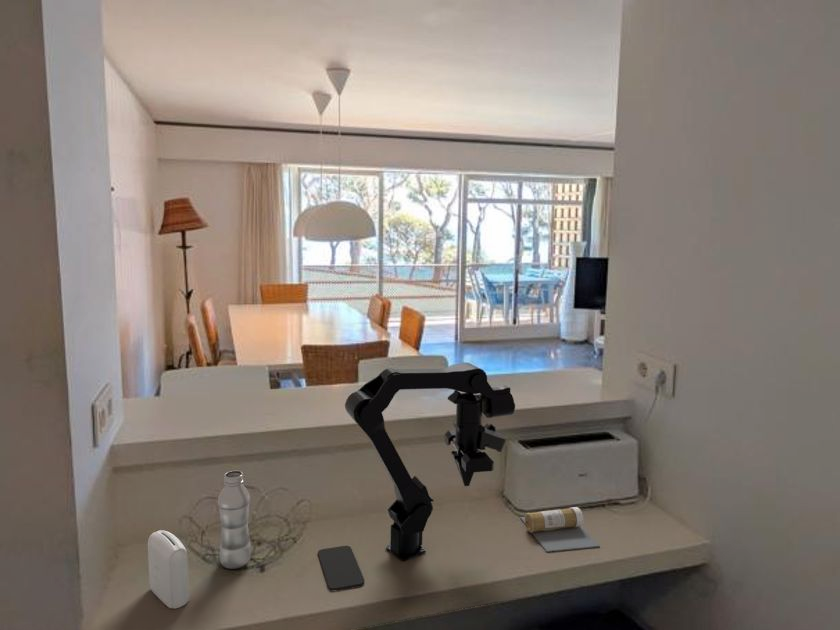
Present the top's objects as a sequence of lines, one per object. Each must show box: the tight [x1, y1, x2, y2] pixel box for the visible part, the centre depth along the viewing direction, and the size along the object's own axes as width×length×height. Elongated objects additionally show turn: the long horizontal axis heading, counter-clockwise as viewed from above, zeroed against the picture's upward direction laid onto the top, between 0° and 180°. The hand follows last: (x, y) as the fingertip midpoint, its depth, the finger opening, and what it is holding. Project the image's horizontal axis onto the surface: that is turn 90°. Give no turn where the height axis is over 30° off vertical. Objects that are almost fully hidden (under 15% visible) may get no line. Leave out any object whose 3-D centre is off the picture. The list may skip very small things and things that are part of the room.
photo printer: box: [147, 529, 190, 610], centre depth 113 cm, size 10×4×12 cm, turn 47°
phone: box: [317, 545, 365, 591], centre depth 124 cm, size 7×1×15 cm
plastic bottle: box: [217, 470, 252, 570], centre depth 123 cm, size 6×7×20 cm
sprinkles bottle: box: [524, 506, 584, 534], centre depth 142 cm, size 5×5×13 cm
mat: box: [519, 516, 600, 553], centre depth 141 cm, size 13×16×1 cm
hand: (466, 485), depth 135 cm, fingers closed
